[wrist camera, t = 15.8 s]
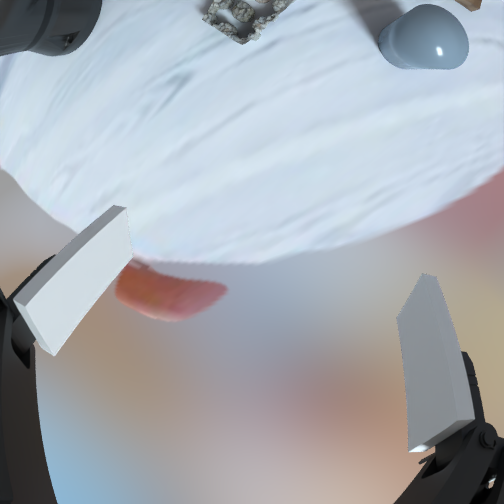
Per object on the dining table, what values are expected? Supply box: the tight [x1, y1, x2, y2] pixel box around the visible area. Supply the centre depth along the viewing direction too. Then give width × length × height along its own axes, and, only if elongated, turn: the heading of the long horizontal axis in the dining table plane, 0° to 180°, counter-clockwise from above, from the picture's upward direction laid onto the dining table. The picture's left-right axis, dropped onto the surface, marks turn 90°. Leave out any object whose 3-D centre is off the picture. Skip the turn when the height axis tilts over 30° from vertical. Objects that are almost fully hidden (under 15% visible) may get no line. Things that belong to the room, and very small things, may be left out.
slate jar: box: [378, 4, 469, 69], centre depth 19 cm, size 6×6×12 cm
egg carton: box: [202, 0, 295, 45], centre depth 23 cm, size 11×8×4 cm
